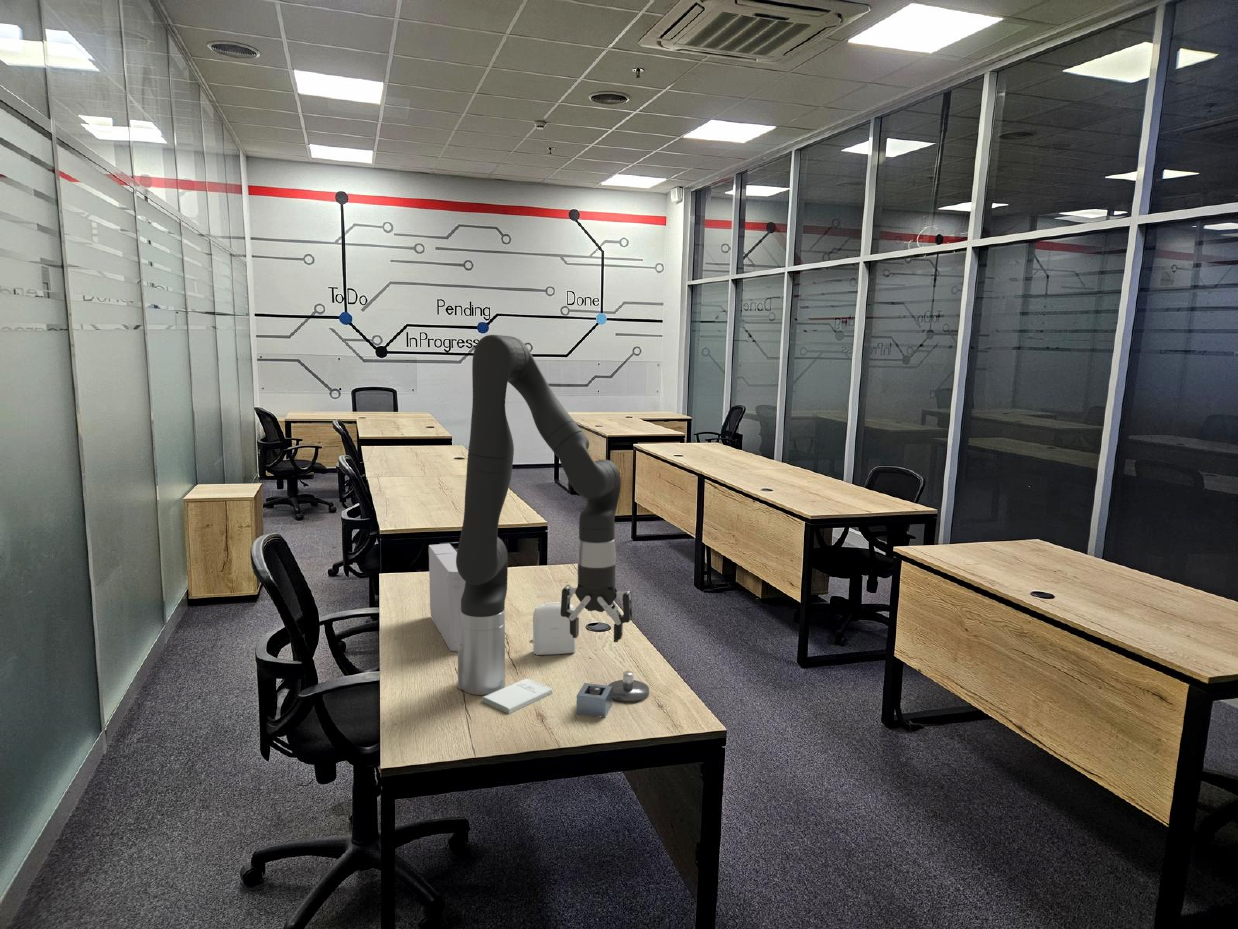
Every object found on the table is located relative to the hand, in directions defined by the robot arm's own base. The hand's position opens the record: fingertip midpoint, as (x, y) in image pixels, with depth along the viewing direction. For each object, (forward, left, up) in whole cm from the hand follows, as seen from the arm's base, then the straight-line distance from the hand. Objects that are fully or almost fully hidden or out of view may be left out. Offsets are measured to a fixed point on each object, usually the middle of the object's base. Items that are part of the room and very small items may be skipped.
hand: (596, 638), depth 154 cm
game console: (-47, +31, -15) cm, 59 cm away
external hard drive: (-17, +1, -16) cm, 23 cm away
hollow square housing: (0, 0, -15) cm, 15 cm away
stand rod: (0, 0, -15) cm, 15 cm away
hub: (+5, +9, -15) cm, 18 cm away
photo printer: (-17, +26, -15) cm, 35 cm away
